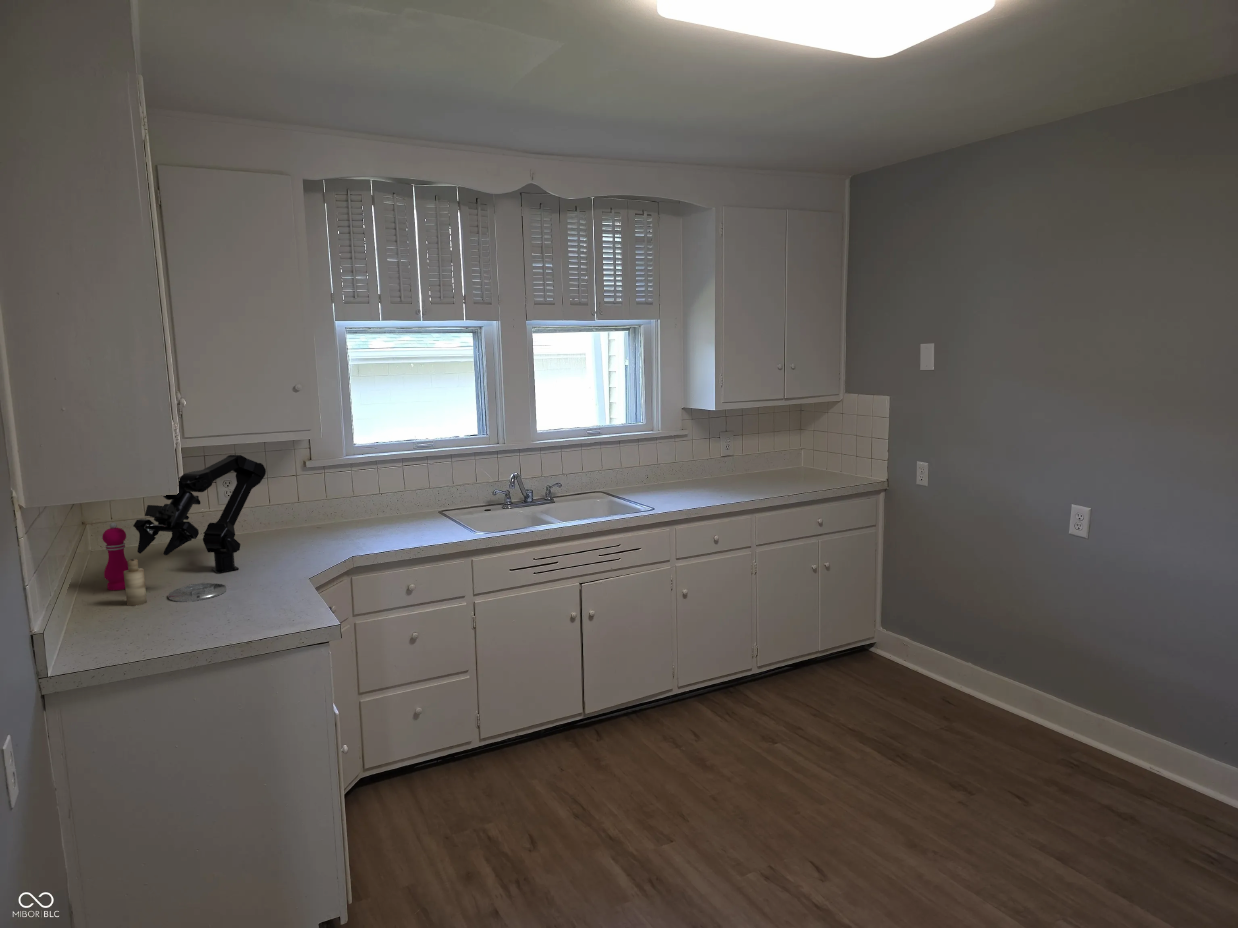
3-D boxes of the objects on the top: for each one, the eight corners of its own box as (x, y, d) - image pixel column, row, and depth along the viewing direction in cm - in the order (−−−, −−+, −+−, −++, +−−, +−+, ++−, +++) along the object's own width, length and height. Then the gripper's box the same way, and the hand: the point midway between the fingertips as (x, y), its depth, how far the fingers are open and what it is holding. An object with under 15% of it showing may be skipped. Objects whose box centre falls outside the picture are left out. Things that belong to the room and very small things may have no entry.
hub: (168, 591, 233) (168, 584, 233) (224, 583, 240) (224, 576, 240) (168, 605, 220) (167, 598, 220) (227, 596, 227) (227, 589, 227)
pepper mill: (109, 585, 239) (101, 521, 236) (136, 582, 242) (129, 519, 239) (103, 592, 233) (95, 526, 230) (131, 589, 235) (124, 524, 232)
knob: (125, 603, 222) (120, 559, 220) (144, 599, 225) (140, 556, 224) (129, 607, 219) (124, 562, 217) (148, 603, 222) (144, 559, 220)
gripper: (135, 492, 232) (106, 537, 223) (187, 494, 227) (160, 540, 218) (159, 513, 240) (132, 557, 231) (210, 515, 236) (185, 560, 227)
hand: (151, 553), depth 226 cm, fingers open, 9 cm apart
